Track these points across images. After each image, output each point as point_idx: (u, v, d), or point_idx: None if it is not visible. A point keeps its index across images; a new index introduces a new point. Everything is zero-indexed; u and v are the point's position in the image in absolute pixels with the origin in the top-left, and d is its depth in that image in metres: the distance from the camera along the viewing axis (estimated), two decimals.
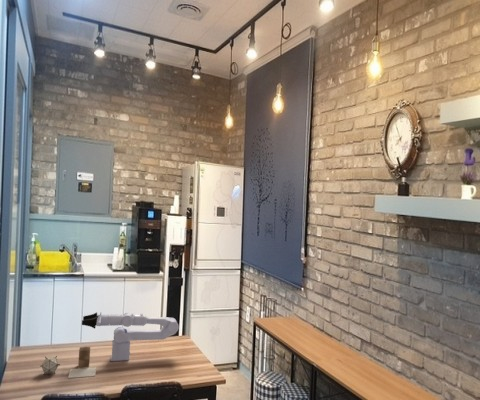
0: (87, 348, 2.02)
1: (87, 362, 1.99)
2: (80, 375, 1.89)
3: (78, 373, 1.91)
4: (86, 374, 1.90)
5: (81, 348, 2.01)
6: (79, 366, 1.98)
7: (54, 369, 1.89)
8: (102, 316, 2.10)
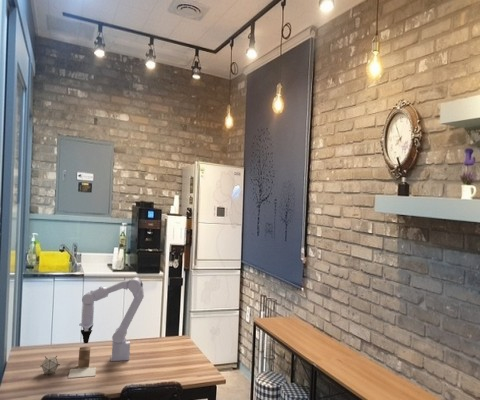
0: (87, 348, 2.02)
1: (87, 362, 1.99)
2: (80, 375, 1.89)
3: (78, 373, 1.91)
4: (86, 374, 1.90)
5: (81, 348, 2.01)
6: (79, 366, 1.98)
7: (54, 369, 1.89)
8: (82, 323, 2.10)
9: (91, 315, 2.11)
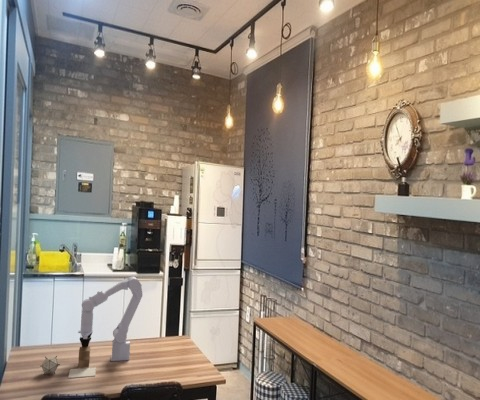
0: (87, 348, 2.01)
1: (87, 362, 1.99)
2: (80, 375, 1.89)
3: (78, 373, 1.91)
4: (86, 374, 1.90)
5: (81, 348, 2.00)
6: (79, 366, 1.98)
7: (54, 369, 1.89)
8: (81, 330, 2.05)
9: (91, 322, 2.07)
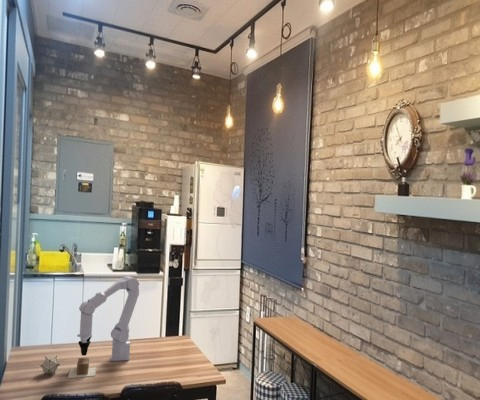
0: (84, 367, 1.90)
1: None
2: (80, 375, 1.89)
3: None
4: (86, 374, 1.90)
5: (78, 368, 1.90)
6: None
7: (54, 369, 1.89)
8: (80, 334, 1.99)
9: (91, 325, 2.02)
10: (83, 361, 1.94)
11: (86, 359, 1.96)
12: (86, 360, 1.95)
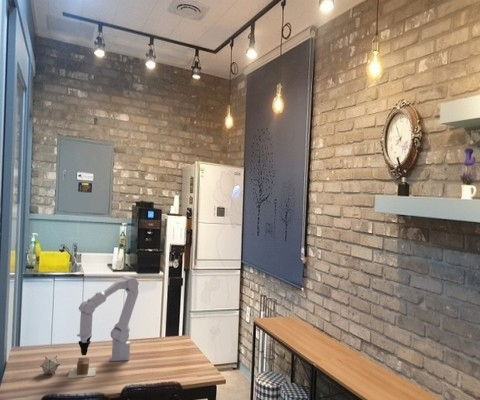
0: (84, 367, 1.90)
1: None
2: (80, 375, 1.89)
3: None
4: (86, 374, 1.90)
5: (78, 368, 1.90)
6: None
7: (54, 369, 1.89)
8: (80, 333, 1.98)
9: (91, 324, 2.01)
10: (83, 361, 1.94)
11: (86, 359, 1.96)
12: (86, 360, 1.95)
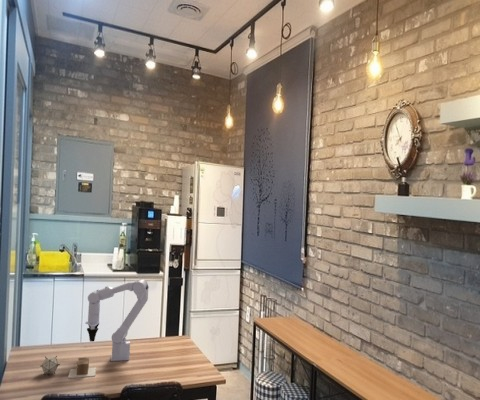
0: (84, 367, 1.90)
1: None
2: (80, 375, 1.89)
3: None
4: (86, 374, 1.90)
5: (78, 368, 1.90)
6: None
7: (54, 369, 1.89)
8: (88, 321, 2.12)
9: (97, 313, 2.12)
10: (83, 361, 1.94)
11: (86, 359, 1.96)
12: (86, 360, 1.95)
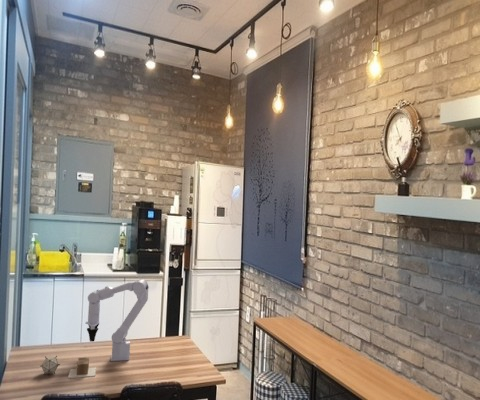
0: (84, 367, 1.90)
1: None
2: (80, 375, 1.89)
3: None
4: (86, 374, 1.90)
5: (78, 368, 1.90)
6: None
7: (54, 369, 1.89)
8: (88, 321, 2.12)
9: (97, 313, 2.12)
10: (83, 361, 1.94)
11: (86, 359, 1.96)
12: (86, 360, 1.95)
